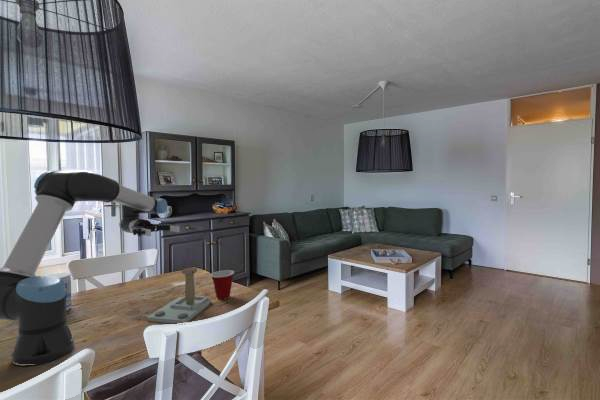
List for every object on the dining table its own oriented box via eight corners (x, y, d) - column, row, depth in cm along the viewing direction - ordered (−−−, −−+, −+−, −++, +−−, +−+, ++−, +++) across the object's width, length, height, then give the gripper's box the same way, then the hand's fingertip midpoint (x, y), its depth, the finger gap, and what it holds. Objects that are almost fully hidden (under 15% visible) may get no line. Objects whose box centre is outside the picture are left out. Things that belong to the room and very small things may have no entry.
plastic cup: (217, 292, 154) (217, 268, 153) (238, 294, 152) (237, 270, 151) (206, 301, 143) (205, 275, 143) (228, 303, 141) (228, 276, 140)
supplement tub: (61, 315, 127) (59, 279, 126) (36, 315, 127) (35, 279, 126) (77, 305, 137) (75, 272, 136) (54, 305, 137) (53, 272, 136)
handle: (199, 302, 138) (199, 268, 137) (186, 307, 132) (186, 271, 132) (193, 299, 140) (192, 266, 140) (180, 304, 135) (179, 269, 135)
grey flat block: (184, 324, 119) (184, 317, 119) (146, 320, 123) (146, 313, 122) (211, 302, 141) (211, 296, 141) (179, 300, 144) (179, 294, 144)
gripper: (165, 231, 164) (189, 235, 151) (113, 238, 144) (137, 243, 131) (164, 217, 163) (189, 220, 151) (113, 221, 143) (136, 225, 131)
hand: (165, 231), depth 141 cm, fingers open, 13 cm apart
